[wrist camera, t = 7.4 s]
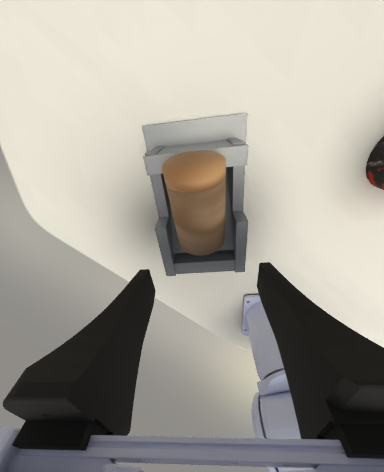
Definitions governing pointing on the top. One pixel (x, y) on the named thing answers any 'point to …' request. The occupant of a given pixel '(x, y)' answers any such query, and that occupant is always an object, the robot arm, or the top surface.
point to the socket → (235, 152)
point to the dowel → (197, 199)
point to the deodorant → (376, 165)
